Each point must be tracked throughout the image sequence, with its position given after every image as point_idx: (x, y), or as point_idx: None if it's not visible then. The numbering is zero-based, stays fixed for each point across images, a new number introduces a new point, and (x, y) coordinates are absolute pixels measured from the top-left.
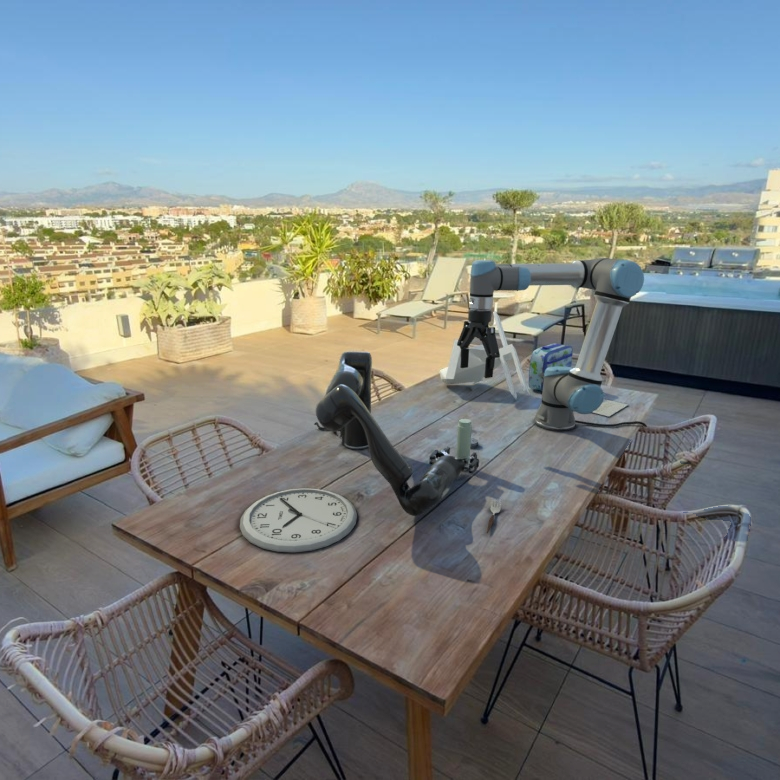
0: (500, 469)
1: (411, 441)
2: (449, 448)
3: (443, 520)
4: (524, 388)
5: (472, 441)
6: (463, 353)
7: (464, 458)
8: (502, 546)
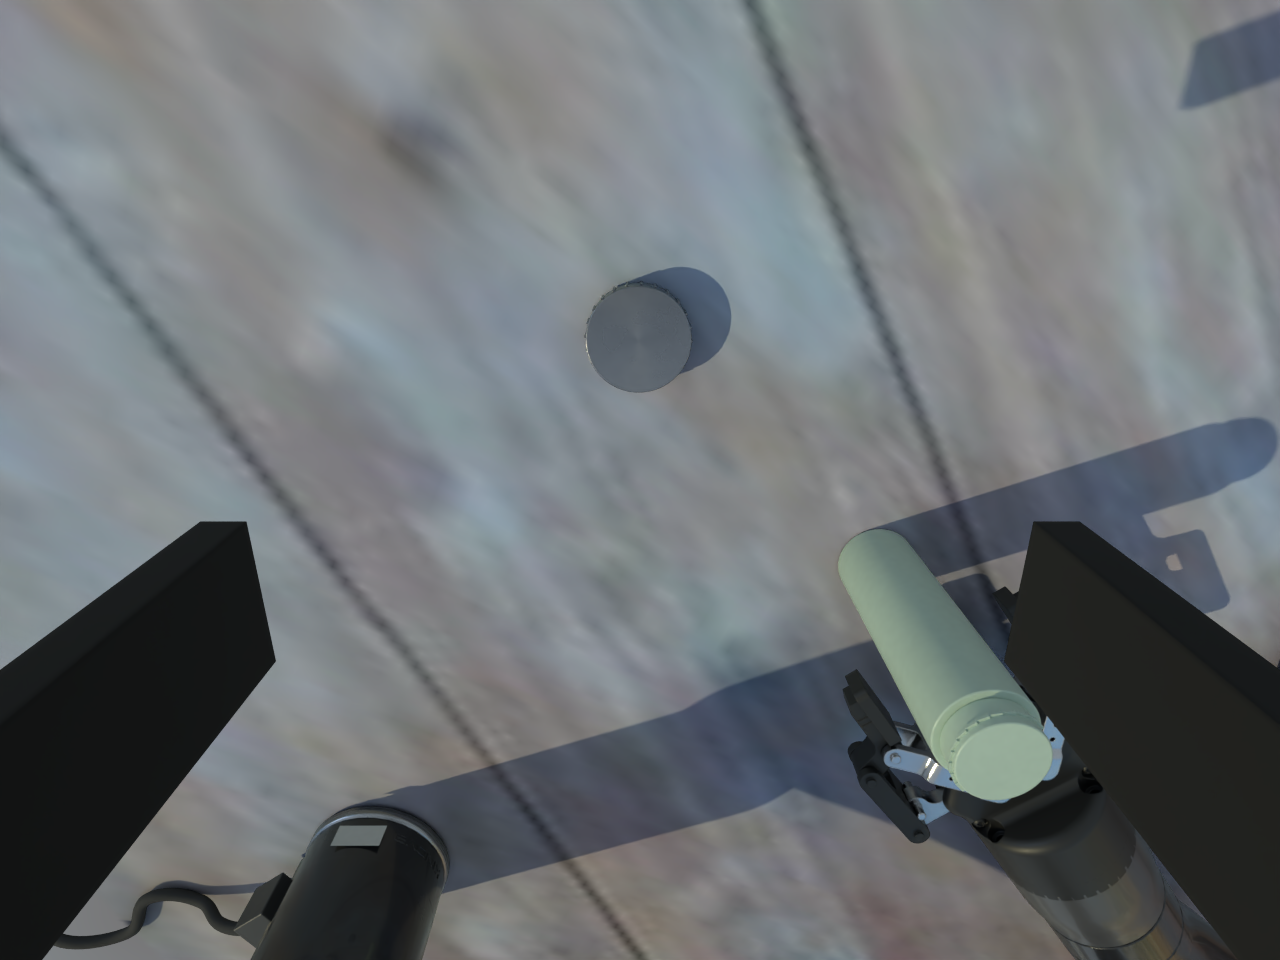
0: (1018, 385)
1: (436, 621)
2: (869, 694)
3: None
4: None
5: (655, 335)
6: (50, 912)
7: None
8: None
